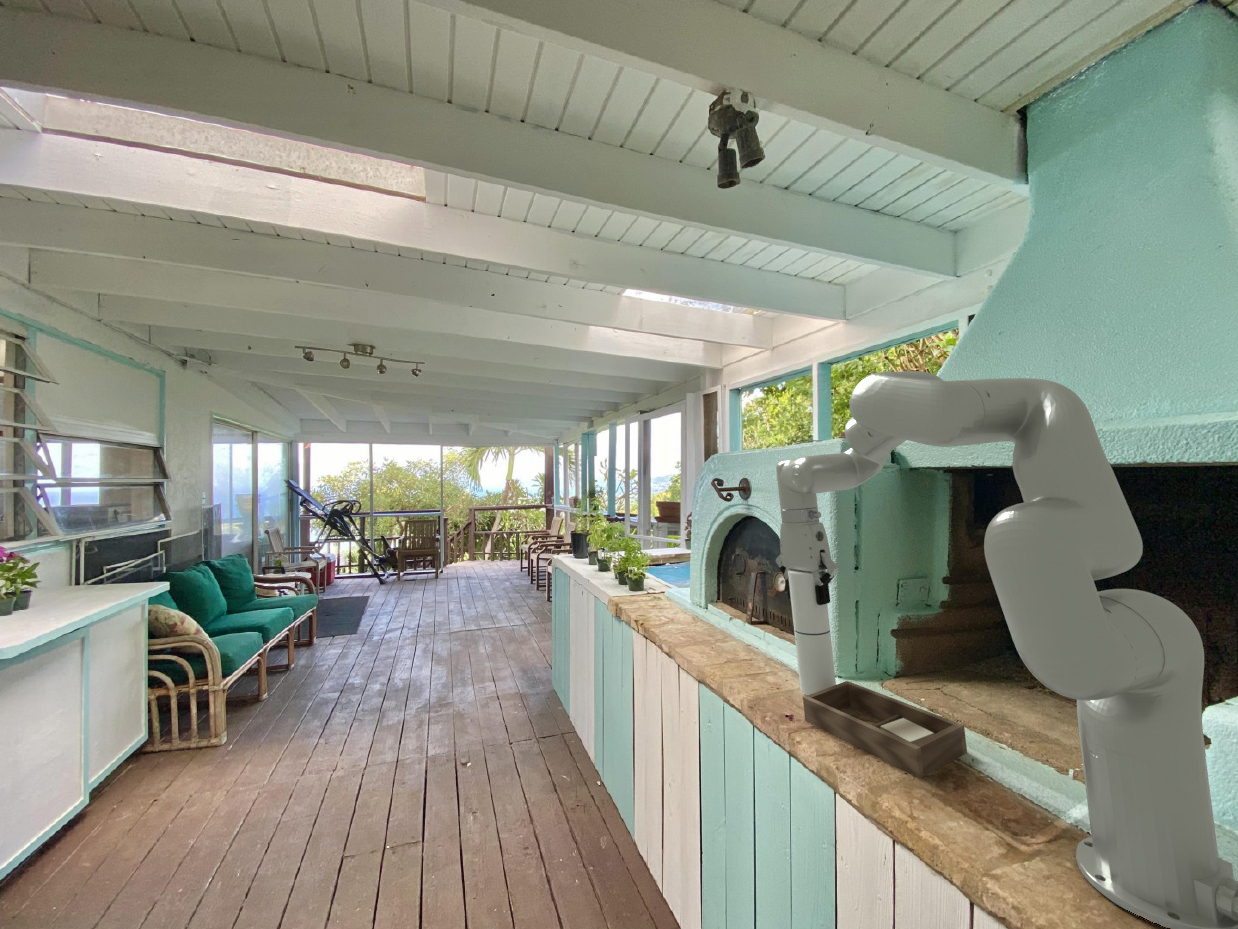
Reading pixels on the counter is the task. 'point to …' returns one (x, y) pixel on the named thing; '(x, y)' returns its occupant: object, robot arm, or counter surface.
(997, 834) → the counter surface
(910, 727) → the offcut top
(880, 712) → the tray
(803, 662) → the cylindrical container
